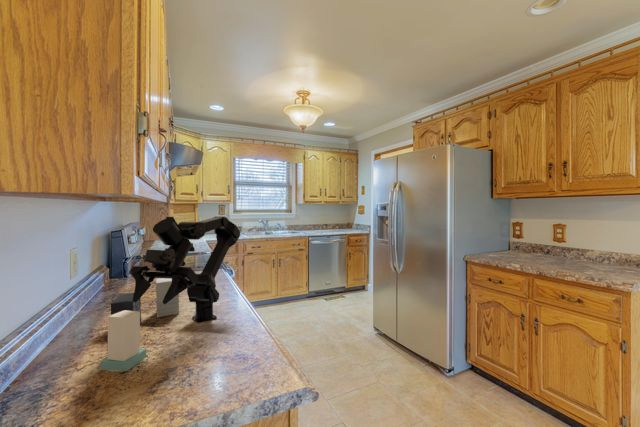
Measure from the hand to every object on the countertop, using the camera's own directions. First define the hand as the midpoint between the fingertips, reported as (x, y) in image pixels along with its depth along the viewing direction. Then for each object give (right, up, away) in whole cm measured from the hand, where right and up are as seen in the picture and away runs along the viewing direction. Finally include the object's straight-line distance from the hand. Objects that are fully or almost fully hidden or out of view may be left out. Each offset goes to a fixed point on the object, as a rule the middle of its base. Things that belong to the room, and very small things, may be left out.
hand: (148, 302), depth 79 cm
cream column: (-1, -10, -8) cm, 13 cm away
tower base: (-1, -14, -8) cm, 16 cm away
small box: (-17, -14, +16) cm, 27 cm away
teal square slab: (-1, -12, -8) cm, 15 cm away
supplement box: (-11, -13, +31) cm, 35 cm away
